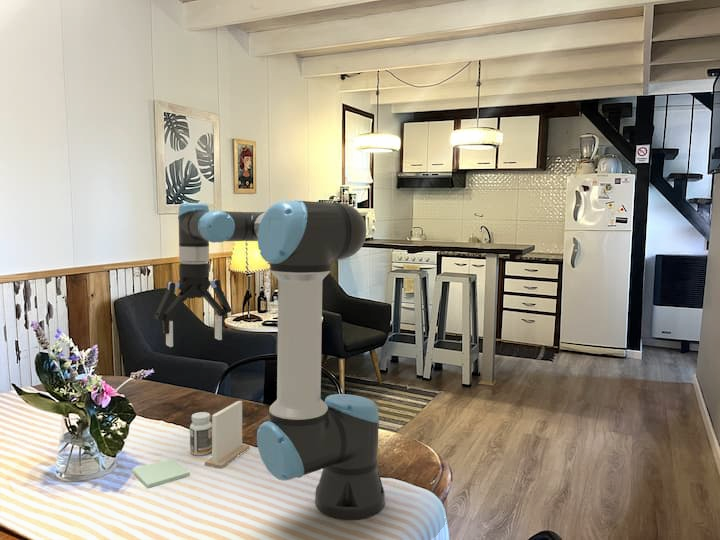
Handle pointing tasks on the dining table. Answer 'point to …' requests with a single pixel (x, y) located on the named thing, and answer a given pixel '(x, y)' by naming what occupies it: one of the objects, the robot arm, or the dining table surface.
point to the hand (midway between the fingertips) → (194, 342)
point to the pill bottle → (201, 434)
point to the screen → (226, 436)
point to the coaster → (160, 472)
